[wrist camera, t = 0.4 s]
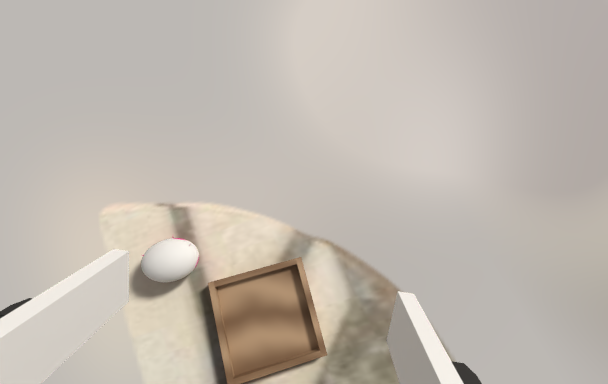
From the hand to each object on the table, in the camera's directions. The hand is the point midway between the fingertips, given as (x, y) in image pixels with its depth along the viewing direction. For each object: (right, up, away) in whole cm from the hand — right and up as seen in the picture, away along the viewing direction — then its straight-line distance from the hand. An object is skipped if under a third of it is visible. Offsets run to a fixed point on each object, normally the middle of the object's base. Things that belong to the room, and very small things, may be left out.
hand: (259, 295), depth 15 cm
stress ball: (-17, -5, +31) cm, 36 cm away
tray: (-3, -13, +30) cm, 33 cm away
